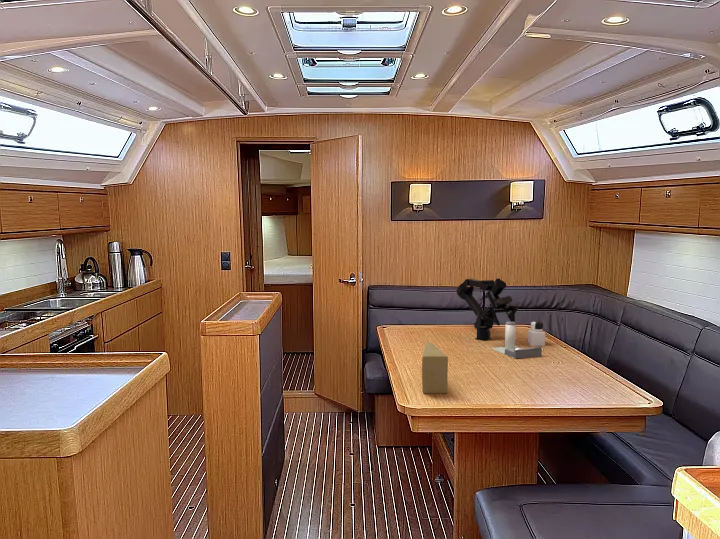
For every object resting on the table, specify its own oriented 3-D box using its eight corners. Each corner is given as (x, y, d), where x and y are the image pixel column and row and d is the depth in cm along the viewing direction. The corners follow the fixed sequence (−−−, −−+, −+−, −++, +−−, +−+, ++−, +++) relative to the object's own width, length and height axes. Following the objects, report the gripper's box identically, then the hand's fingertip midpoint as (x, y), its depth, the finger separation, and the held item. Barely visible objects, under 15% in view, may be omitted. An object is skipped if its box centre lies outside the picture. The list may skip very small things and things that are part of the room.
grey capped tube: (503, 349, 247) (504, 322, 246) (507, 347, 251) (507, 320, 250) (512, 351, 244) (513, 323, 243) (516, 349, 248) (517, 322, 247)
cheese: (416, 375, 207) (416, 340, 206) (439, 375, 207) (440, 341, 206) (421, 393, 185) (422, 355, 184) (447, 394, 185) (448, 355, 184)
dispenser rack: (504, 354, 240) (504, 345, 239) (530, 351, 244) (530, 342, 244) (515, 359, 232) (515, 349, 231) (541, 356, 236) (541, 346, 236)
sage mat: (491, 348, 250) (491, 348, 250) (515, 346, 255) (515, 345, 255) (504, 354, 240) (504, 353, 240) (529, 351, 245) (529, 350, 245)
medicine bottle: (541, 342, 262) (542, 320, 261) (545, 346, 255) (545, 323, 254) (527, 342, 263) (528, 320, 262) (530, 345, 256) (531, 323, 255)
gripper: (486, 291, 250) (498, 316, 240) (516, 289, 256) (529, 314, 246) (477, 304, 258) (488, 329, 249) (507, 302, 264) (519, 326, 255)
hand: (506, 324), depth 249 cm, fingers open, 9 cm apart
